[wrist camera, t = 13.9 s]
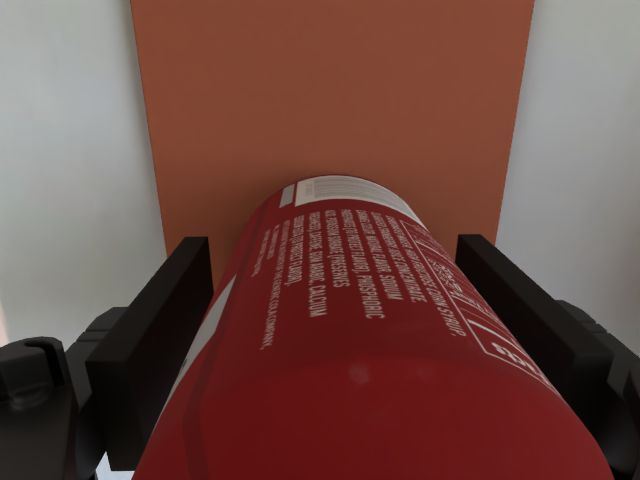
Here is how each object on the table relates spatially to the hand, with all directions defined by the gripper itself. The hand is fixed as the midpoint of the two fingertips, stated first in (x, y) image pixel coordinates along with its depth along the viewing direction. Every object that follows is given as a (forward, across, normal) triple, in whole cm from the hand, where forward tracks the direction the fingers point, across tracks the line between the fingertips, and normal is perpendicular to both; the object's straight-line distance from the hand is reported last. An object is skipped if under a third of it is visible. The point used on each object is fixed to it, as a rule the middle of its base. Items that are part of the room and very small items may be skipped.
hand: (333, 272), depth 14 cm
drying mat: (+2, 0, 0) cm, 2 cm away
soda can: (+1, 0, 0) cm, 1 cm away
